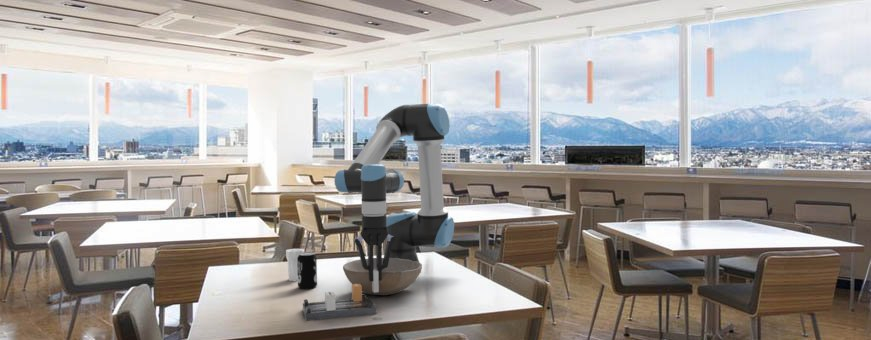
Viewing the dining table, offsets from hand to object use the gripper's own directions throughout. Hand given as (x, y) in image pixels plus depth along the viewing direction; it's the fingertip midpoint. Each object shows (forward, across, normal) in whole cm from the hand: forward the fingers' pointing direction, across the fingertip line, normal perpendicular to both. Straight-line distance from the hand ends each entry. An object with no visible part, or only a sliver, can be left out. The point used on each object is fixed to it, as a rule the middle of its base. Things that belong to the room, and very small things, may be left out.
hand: (375, 291), depth 183 cm
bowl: (+5, -5, -14) cm, 16 cm away
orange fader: (+2, +6, 0) cm, 6 cm away
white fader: (+2, +15, +8) cm, 17 cm away
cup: (+4, +21, -47) cm, 52 cm away
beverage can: (+5, +18, -32) cm, 37 cm away
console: (+4, +12, +4) cm, 13 cm away
